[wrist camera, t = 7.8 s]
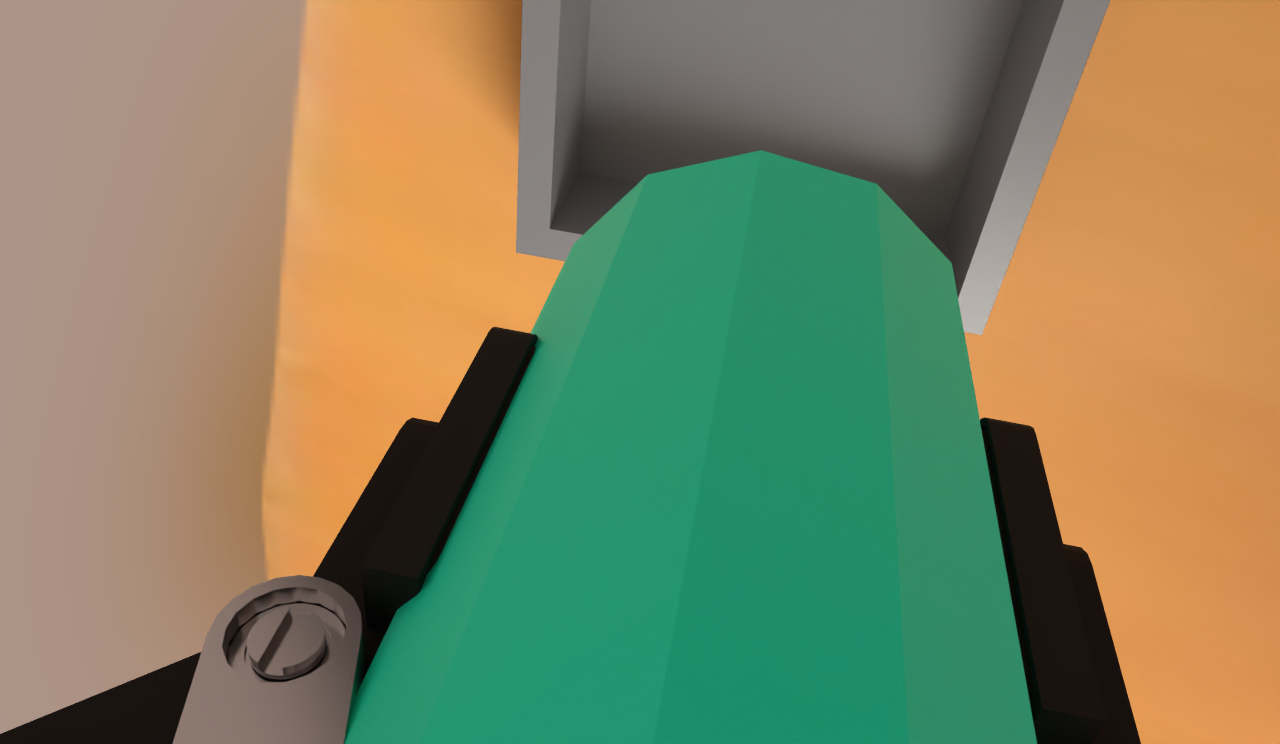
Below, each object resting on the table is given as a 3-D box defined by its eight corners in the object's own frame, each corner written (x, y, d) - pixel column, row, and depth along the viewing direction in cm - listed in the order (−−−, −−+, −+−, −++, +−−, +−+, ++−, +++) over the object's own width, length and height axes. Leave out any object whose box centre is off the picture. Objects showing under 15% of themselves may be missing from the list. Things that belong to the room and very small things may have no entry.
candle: (1004, 158, 12) (1647, 2135, 2) (934, 510, 15) (1076, 1881, 6) (536, 142, 13) (-368, 1495, 3) (570, 476, 16) (179, 1605, 7)
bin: (964, 252, 32) (981, 334, 28) (555, 182, 33) (515, 252, 29) (1137, -243, 24) (1196, -226, 20) (581, -315, 25) (530, -312, 21)
